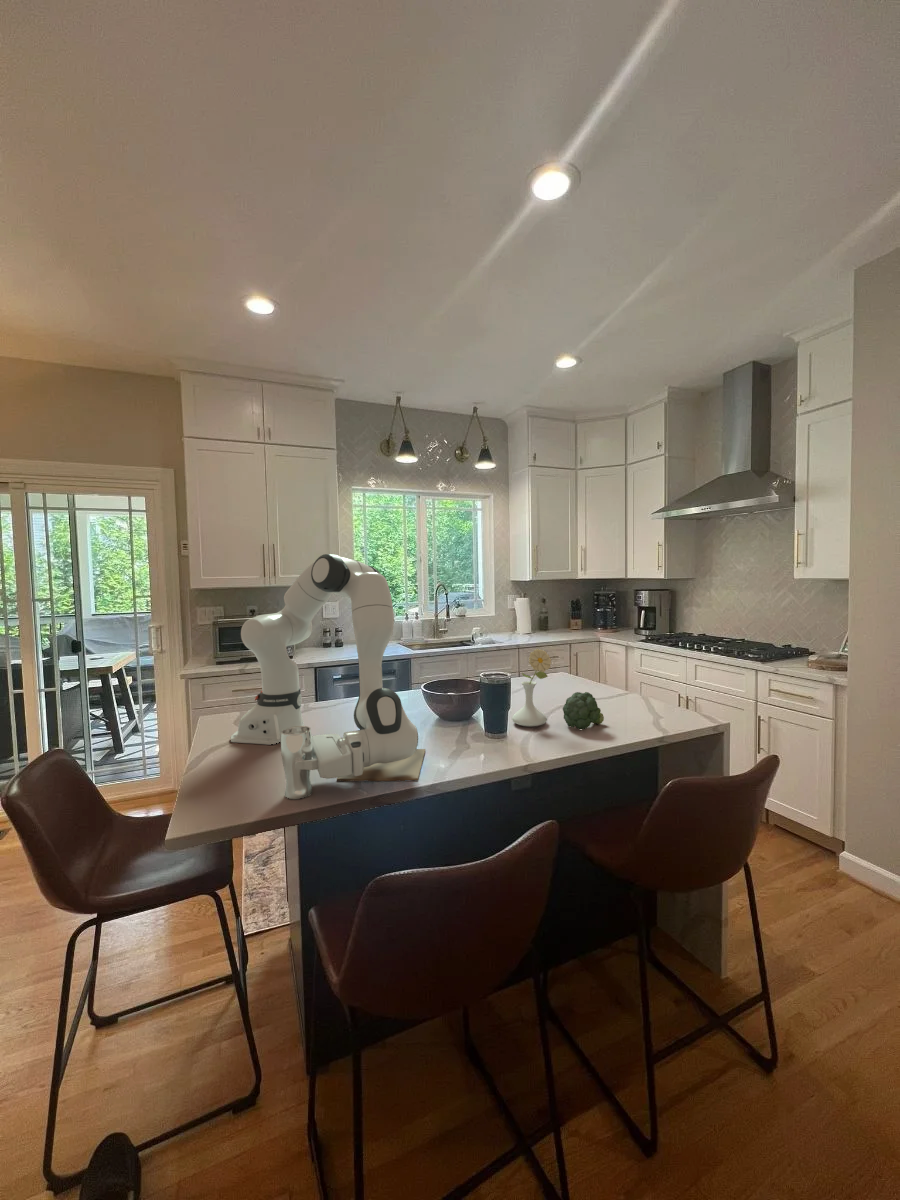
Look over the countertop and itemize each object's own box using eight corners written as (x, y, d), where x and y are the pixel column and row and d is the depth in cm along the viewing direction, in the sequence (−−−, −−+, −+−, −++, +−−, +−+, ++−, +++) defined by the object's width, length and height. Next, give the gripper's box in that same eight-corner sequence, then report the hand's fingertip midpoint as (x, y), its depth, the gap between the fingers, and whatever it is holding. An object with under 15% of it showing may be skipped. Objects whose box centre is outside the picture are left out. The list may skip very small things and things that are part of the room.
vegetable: (621, 723, 155) (590, 709, 148) (591, 746, 160) (560, 733, 153) (606, 693, 164) (576, 679, 157) (578, 715, 170) (548, 702, 162)
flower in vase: (513, 729, 158) (512, 652, 156) (510, 719, 169) (509, 646, 168) (554, 729, 157) (554, 651, 156) (549, 718, 169) (548, 645, 167)
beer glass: (276, 796, 114) (273, 731, 113) (300, 785, 120) (298, 723, 119) (296, 803, 110) (293, 736, 109) (320, 791, 116) (318, 728, 115)
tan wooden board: (336, 781, 122) (336, 778, 122) (355, 751, 142) (355, 749, 141) (417, 780, 121) (417, 778, 121) (425, 751, 141) (425, 749, 141)
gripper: (344, 725, 129) (288, 732, 123) (362, 750, 110) (297, 761, 105) (345, 748, 129) (289, 757, 124) (363, 778, 110) (298, 790, 105)
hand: (293, 759), depth 114 cm, fingers closed on beer glass, 6 cm apart
